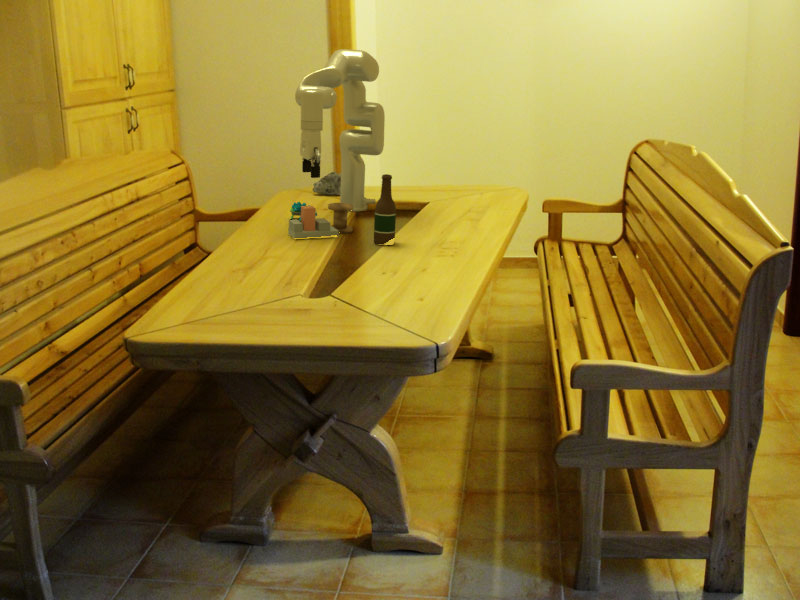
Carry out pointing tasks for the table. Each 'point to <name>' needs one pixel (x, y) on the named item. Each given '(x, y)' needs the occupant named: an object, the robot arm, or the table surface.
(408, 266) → the table surface
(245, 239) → the table surface
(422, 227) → the table surface
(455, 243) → the table surface
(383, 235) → the beer bottle
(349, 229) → the bobbin
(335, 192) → the mineral rock
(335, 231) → the grey notched block
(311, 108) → the robot arm
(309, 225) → the orange rectangular block
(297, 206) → the teal lobed piece
